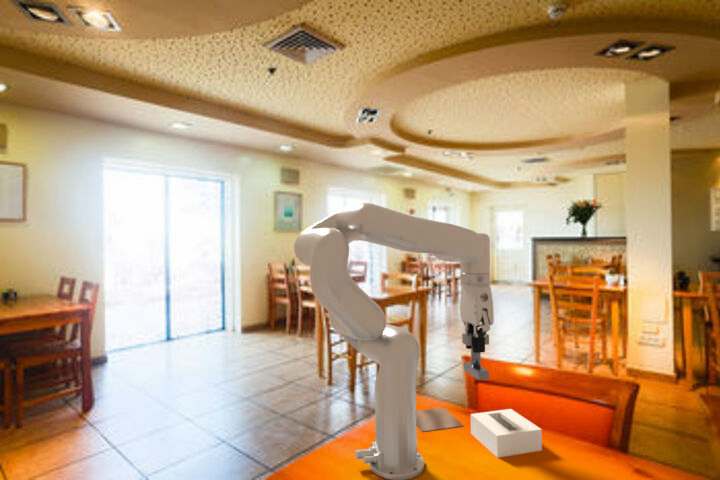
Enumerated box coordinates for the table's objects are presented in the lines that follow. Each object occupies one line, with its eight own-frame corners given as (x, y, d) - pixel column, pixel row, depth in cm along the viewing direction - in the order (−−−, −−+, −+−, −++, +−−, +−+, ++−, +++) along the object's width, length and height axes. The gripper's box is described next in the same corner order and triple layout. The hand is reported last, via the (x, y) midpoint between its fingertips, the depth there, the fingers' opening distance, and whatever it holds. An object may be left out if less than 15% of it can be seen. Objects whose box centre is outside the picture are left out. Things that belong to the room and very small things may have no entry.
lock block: (497, 461, 91) (497, 435, 91) (471, 437, 103) (470, 414, 103) (541, 454, 94) (541, 429, 94) (511, 431, 106) (510, 408, 106)
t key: (494, 378, 99) (494, 337, 100) (472, 380, 98) (472, 338, 98) (479, 368, 107) (478, 330, 107) (458, 370, 106) (458, 331, 106)
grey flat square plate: (422, 435, 104) (422, 431, 104) (406, 416, 115) (406, 412, 115) (463, 430, 107) (463, 425, 107) (443, 411, 118) (443, 407, 118)
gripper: (505, 282, 96) (505, 358, 96) (473, 277, 112) (473, 342, 112) (477, 283, 94) (477, 360, 94) (448, 277, 110) (448, 343, 110)
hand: (475, 349), depth 103 cm, fingers closed on t key, 3 cm apart
